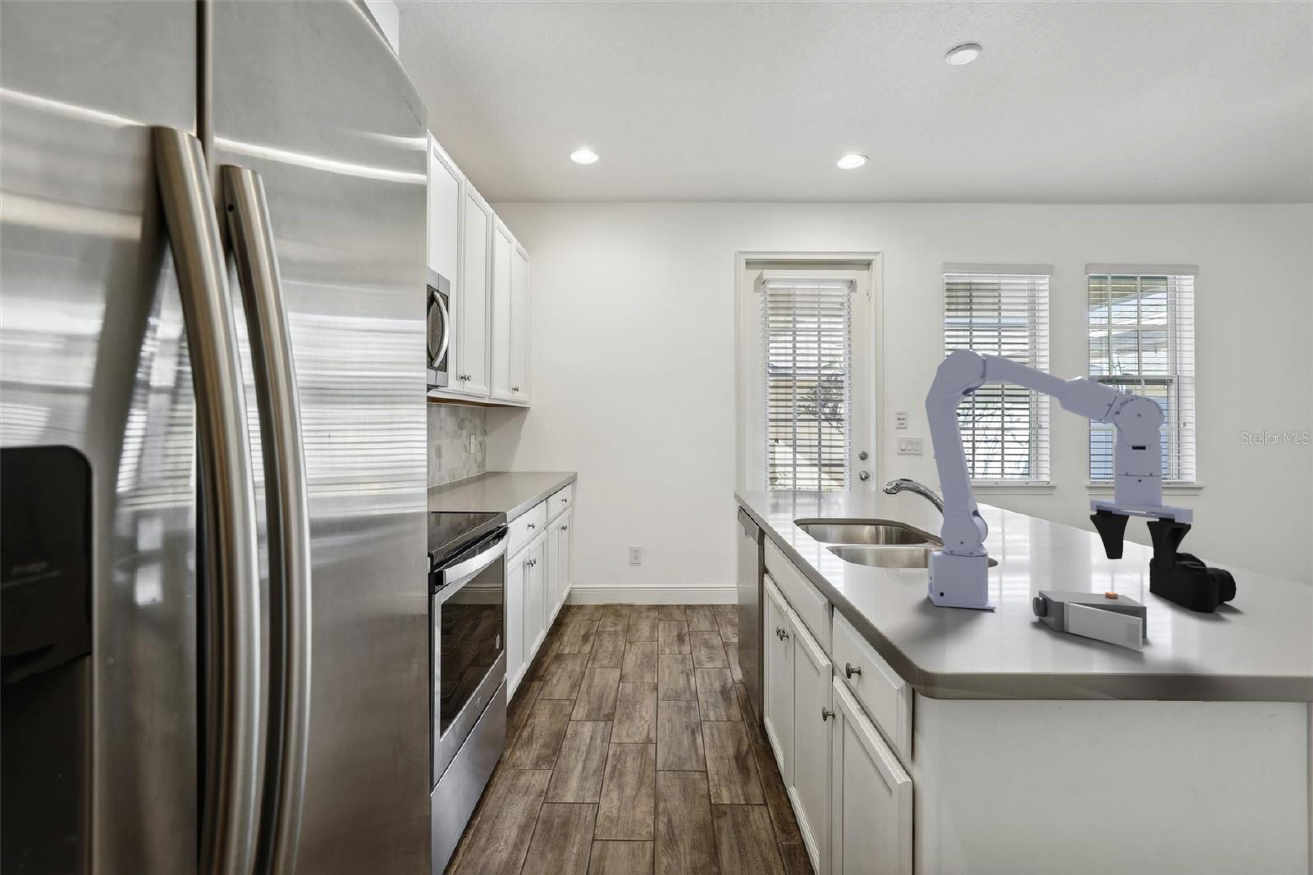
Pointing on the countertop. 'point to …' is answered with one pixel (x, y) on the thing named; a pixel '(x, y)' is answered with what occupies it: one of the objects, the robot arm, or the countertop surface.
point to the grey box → (1052, 605)
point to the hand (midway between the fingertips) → (1137, 563)
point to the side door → (1103, 625)
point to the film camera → (1192, 583)
